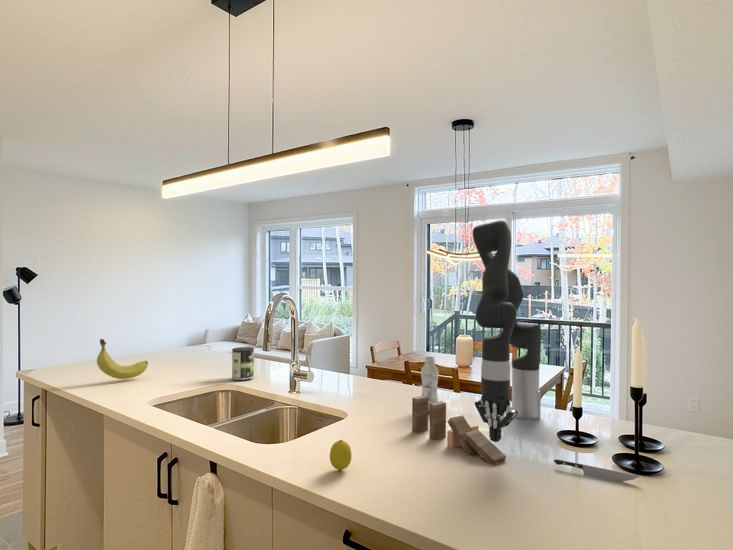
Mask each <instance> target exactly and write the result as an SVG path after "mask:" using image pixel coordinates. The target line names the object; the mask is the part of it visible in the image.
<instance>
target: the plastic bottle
mask: <svg viewBox="0 0 733 550" xmlns="http://www.w3.org/2000/svg"><path fill="white" fill-rule="evenodd" d="M435 364H436V357H434V356H425V357H424V364H423V366H422V368H420V369H421V370H420V377H421V386H422V390H421V391H422V392H421V396H427V397H428V414H430V404H431V403H436V402H439V397H438V382H439V373H440V372H439V370H438V366H436V365H435Z"/></svg>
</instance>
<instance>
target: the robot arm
mask: <svg viewBox="0 0 733 550" xmlns="http://www.w3.org/2000/svg"><path fill="white" fill-rule="evenodd" d="M472 238H473V242H474V243H473V244H474V245H475V246H474V247H475V248H476V250H477V252H478V255H479V258H480V259H481V262H482V265H483V266H484V268H485V269H484V271H483V273H482V274H483V275H482V288H481V289H482V290H481V291H482V292H481V297H480V301H479V302H478V305H477V307H476V311H475V321H476V323H477V325H478V326H479V327H481V328H484V329H502V330H501V332H500V333H499V334H497V335H492V336H487V337H484V338H483V339H482V343H481V344H482V346H481V349H482V350H481V351H482V352H481V353H482V354H481V364H480V365H481V367H480V368H481V370H480V392H481V393H482V394H481V397H480V399H479V400H477V401H474V404H473V405H474V406H475V408H476V410H477V412H478V414H479V416H480V418H481V420H482V422H483V423H486V424H487V426H488V429H489V430H488V431H489V432H488V436H489V441H490V442H494V443H497V442H500V440H501V439H502V428H505V427H508V426H509V425H510V424H511V423H512V422H513V420H514V419H515V418H517V419H519V420H525V421H535V420H541V418H542V417H541V416H542V415H541V412H542V409H541V405H542V403H541V401H542V400H541V399H542V397H541V396H542V395H541V391H540V364H541V352H542V351H541V350H542V329H541V327H540V325H539V324H537V323H533V322H532V323H531V322H519V321H518V319H517V316H518V313H517V312H518V310H519V308H520V306H521V304H522V302H523V299H524V292H523V291H524V290H523V288H522V285H521V281H520V278H519V276H518V275H517V274H516V273H515V272H514V271H512V270H511V269H510V268H509V263H510V259H511V258H510V257H511V250H512V233H511V229H510V226H509V225H508V223H507V221H506V220H504V219H501V220H493V221H490V222H486V223H483V224H479V225H478V224H477V225H476V226H474V227H473V229H472ZM493 252H496V253H495V254H494V253H493ZM510 346H511V347H513V348H516V349H521V350H522V349H524V350H526V351H527V352H526V354H525V355H523V356H519V357H515V358H513V359H512V361H511V363H510ZM510 395H511V401H510V399H509V398H510Z"/></svg>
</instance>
